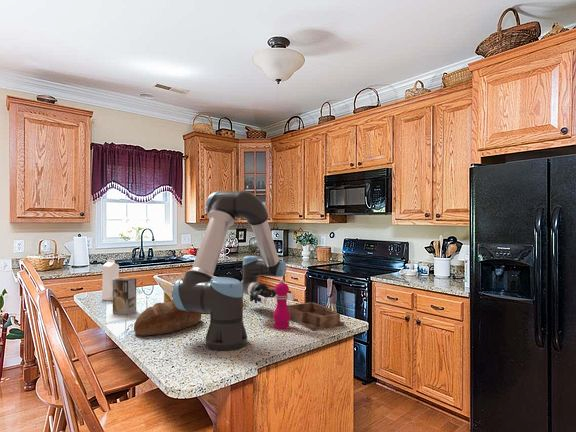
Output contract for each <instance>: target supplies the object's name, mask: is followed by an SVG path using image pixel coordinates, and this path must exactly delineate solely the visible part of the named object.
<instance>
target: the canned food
mask: <svg viewBox="0 0 576 432" xmlns="http://www.w3.org/2000/svg"><path fill="white" fill-rule="evenodd" d="M168 281H169V282H171V283H172V284H175V282H176V281H177V280H168ZM168 301H171V299H170V297H169V296H168V295H167V294H166V293H165V292H164V291H163V303H165V302H168Z"/></svg>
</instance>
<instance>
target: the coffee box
mask: <svg viewBox="0 0 576 432" xmlns="http://www.w3.org/2000/svg"><path fill="white" fill-rule="evenodd" d="M135 312H137V278H130V277H129V278H128V277H119V278H118V279H115V280H113V300H112V314H118V315H130V314H133V313H135Z"/></svg>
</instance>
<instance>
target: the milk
mask: <svg viewBox="0 0 576 432" xmlns="http://www.w3.org/2000/svg"><path fill="white" fill-rule="evenodd" d="M101 267H102V268H101V269H102V272H101V273H102V275H101V276H102V277H101V278H102V283H101V284H102V286H101V291H102V292H101V294H102V295H101V296H102V297H101V299H102V301H113V280H115V279H118V278H120V265H119V264H118V263H116V262H115V259H106V262H105V263H104V264H103V265H102V266H101Z"/></svg>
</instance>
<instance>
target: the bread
mask: <svg viewBox="0 0 576 432" xmlns="http://www.w3.org/2000/svg"><path fill="white" fill-rule="evenodd" d="M201 320H202V312H193V311H190V312H188V311H185V310H180V309H178V308H177V307H176V306H175V304H174V302H173V300H171V301H168V302H165V303H164V302H157V303H155V304H154V305H152V306H149V307H147V308H146V309H144V310H143V311H142V312H141V313H140V314H139V316H138V317H137V318H136V320H135V322H134V325H133V331H134V333H135V334H136V335H139V336H143V337H145V336H146V337H147V336H154V335H164V334H168V333H169V334H170V333H172V332H173V333H174V332H176V331H179V330H184V329H186V328H190V327H192V326H195V325H196V324H198V323H200V321H201Z"/></svg>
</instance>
